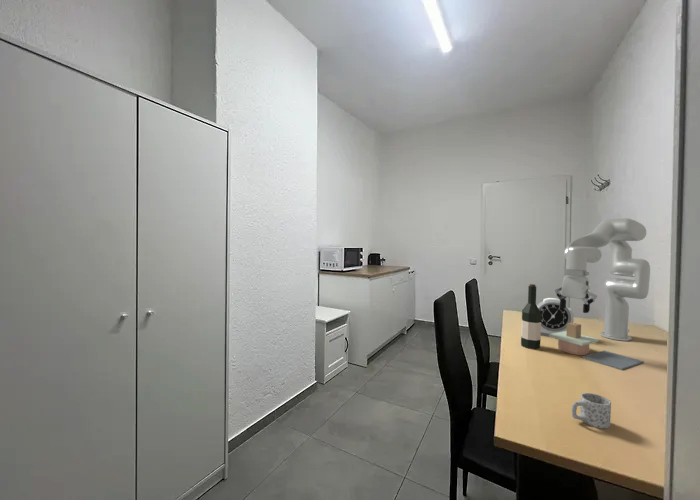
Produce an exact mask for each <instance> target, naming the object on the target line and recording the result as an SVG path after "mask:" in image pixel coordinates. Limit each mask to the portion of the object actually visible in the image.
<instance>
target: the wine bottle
mask: <svg viewBox="0 0 700 500" xmlns="http://www.w3.org/2000/svg"><path fill="white" fill-rule="evenodd" d="M527 291H528V293H527V297H528V298H527V303H526V305H525V306H524V308H523V309H522V310H521V329H520V330H521V332H520V333H521V334H520V345H521V347H523V348H525V349H528V350H529V349H530V350H539V349H541V340H542V339H541V337H542V336H541V312H540V310H539V309H538V307H537V305H538V304H537V285H536V284H533V283H530V284H529V285H528V289H527Z"/></svg>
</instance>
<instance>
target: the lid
mask: <svg viewBox="0 0 700 500" xmlns="http://www.w3.org/2000/svg"><path fill="white" fill-rule="evenodd" d="M549 338H554V339H557V340H558V339H560V340H563V341H567V342H570V343H574V344H577V345H581V346H582V345H586V344H589V345H590V344H593V343H598V342H600V338H596V337H592V336H588V335H585V334H584V335H583V334H582V324H581V323H575V322H574V323H567V331H563V332H558V333H553V334H549Z"/></svg>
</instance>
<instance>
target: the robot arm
mask: <svg viewBox="0 0 700 500" xmlns="http://www.w3.org/2000/svg"><path fill="white" fill-rule="evenodd" d="M646 237H647V229H646V226H644V224H643V223H640V222H639V221H637V220H635V219H632V218H608V219H604V220H601V222H599V223H598V225H597V226H596V227H595V228H594V229H593V230H592V231H591V232H590V233H588V234H585V235H583V236H580V237H578V238H575V239H574V240H572V241H571V242H569V244H568V245H567V246H566V247H565V248H564V250H563V251H564V252H563V257H564V259H565V260H566V266H565V267H566V268H565V275H564V277H563V278H562V284H561V287H559V288H556V289H554V292H555V294H556V297H557V299H559V300H560V308H566V307H567V300H566V299H567V298H571V299H578V300H582V302H583V304H582V305H583V306H582V313H584V314H588V313H589V312H590V309H591V306H590V305H591V304H592V303H594V302H595V300H596V299H597V298H598V295H597V294H595V293H594V292H592V291H591V287H590V280H589V277H588V276H590V272H588V271H587V264H594V263H595V264H596V263H597V262H599V261H601V258H602V251H601V250H600V248H602V247H605V246H607V245H609V248H610V255H609V256H610V257H609V265H608V266H609V267H608V268H609V273H610V274H612V275H614V276H617V277H610V278H607V279H606V280H605V281H604V283H603V289H604V290H603V291H604V299H605V305H604V309H605V310H604V324H603V325H604V326H603V327H604V328H603V329H604V330H603V331H601V332H600V336H601V337H603V338H606V339H609V340H615V341H623V342H625V341H626V342H629V341H632V337H631V336H630V335H628V333H630V329H629V313H630V312H629V311H630V305H629V303H628V301H627V300H626V298H628V299H635V300H645V299H646V298H647V297H648V294H649V290H650V289H649V288H650V281H651V280H650V279H651V265H650V263H649V261H648V260H646V259H645V258H644V259H643V258H632V256H633V255H632V253H633V248H632V247H631V245H630V244H629V243H628V242H640V241H642V240H644V239H645V238H646ZM618 276H619V277H631V278H635V279H627V278H619V277H618Z"/></svg>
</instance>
